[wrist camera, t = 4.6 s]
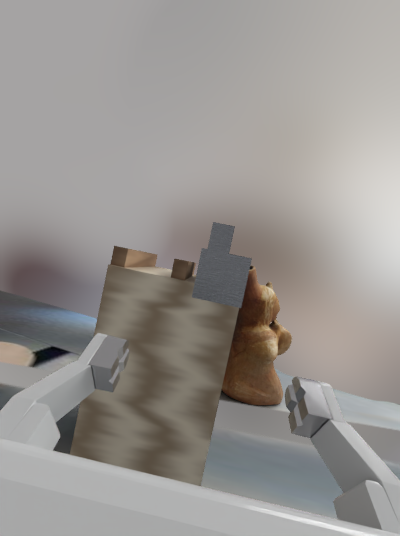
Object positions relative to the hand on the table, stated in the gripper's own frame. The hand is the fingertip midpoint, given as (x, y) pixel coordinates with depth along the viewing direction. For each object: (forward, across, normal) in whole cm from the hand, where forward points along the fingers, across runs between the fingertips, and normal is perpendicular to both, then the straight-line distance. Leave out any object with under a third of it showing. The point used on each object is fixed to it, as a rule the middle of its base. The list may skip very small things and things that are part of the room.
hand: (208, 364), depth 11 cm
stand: (+4, +4, +29) cm, 30 cm away
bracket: (+12, 0, +4) cm, 13 cm away
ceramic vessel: (+24, -12, +41) cm, 49 cm away
